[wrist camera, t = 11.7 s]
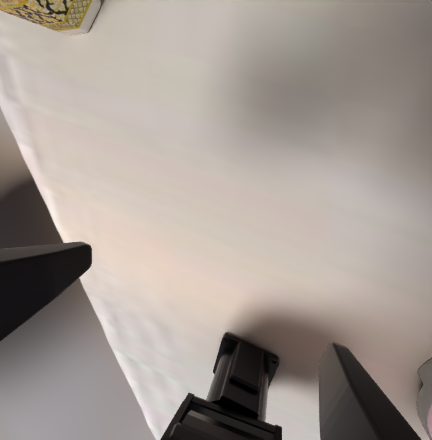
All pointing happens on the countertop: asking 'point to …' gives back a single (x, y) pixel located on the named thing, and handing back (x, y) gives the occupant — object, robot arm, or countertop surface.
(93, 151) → the countertop surface
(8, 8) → the ceramic cup
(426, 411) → the blender
